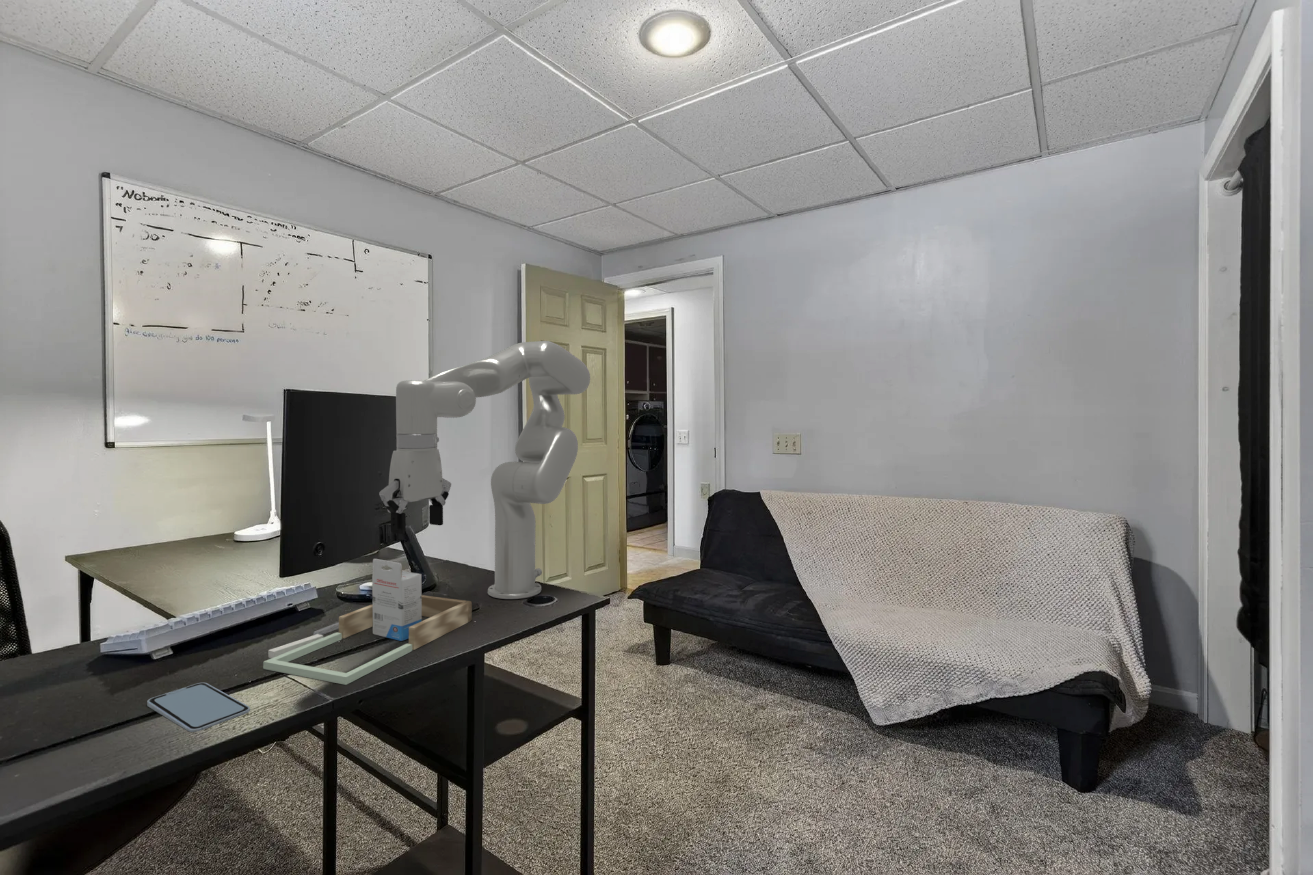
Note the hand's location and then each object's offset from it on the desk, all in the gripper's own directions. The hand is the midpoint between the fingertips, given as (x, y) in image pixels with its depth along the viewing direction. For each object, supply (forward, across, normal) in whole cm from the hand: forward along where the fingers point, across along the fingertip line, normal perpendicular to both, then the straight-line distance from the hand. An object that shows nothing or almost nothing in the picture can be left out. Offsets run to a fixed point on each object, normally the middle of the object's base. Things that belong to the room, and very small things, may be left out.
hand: (417, 528), depth 119 cm
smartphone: (+20, +39, -2) cm, 44 cm away
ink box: (+20, +5, 0) cm, 21 cm away
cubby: (+20, +2, -1) cm, 20 cm away
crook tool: (+20, +7, -12) cm, 24 cm away
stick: (+20, +18, -10) cm, 29 cm away
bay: (+20, +18, +1) cm, 26 cm away
